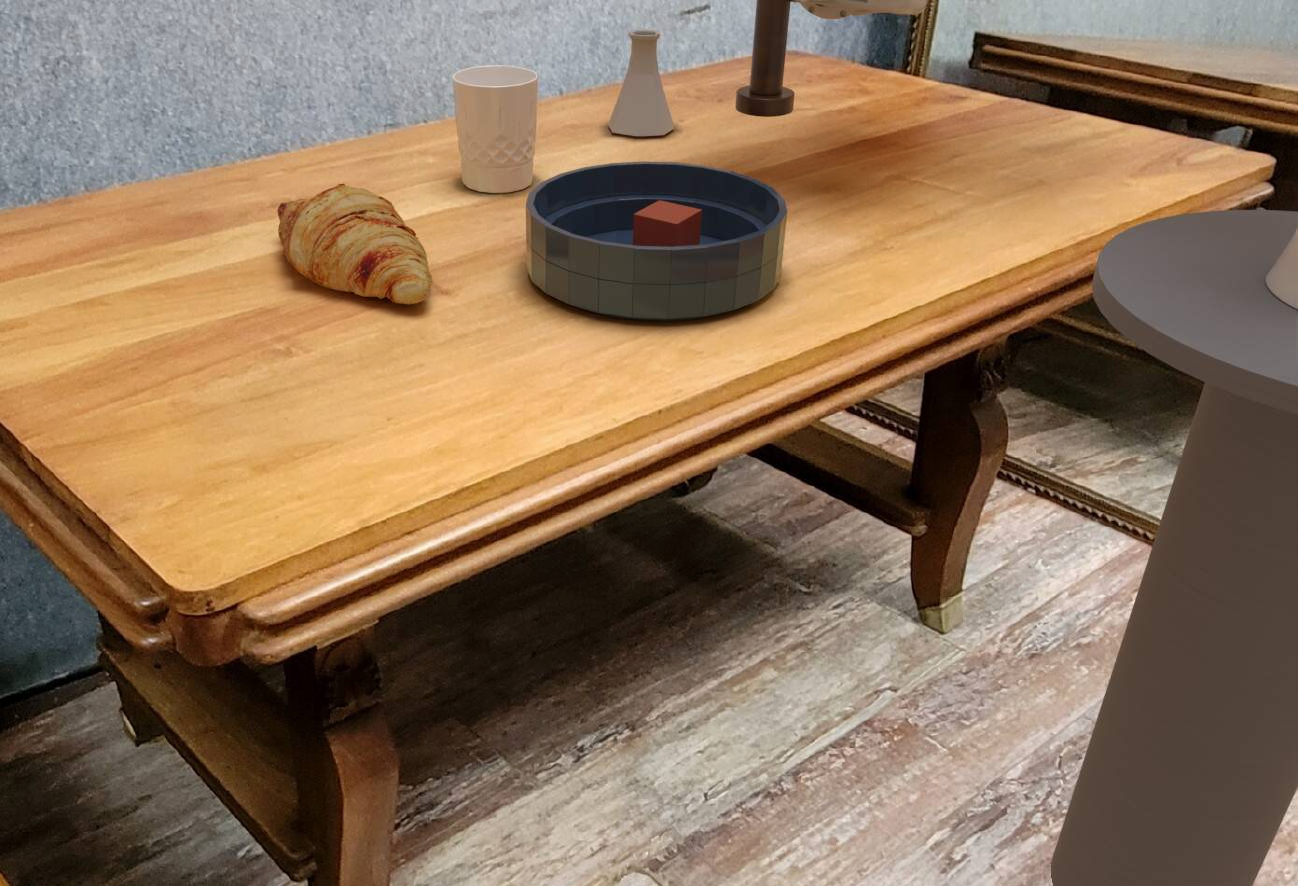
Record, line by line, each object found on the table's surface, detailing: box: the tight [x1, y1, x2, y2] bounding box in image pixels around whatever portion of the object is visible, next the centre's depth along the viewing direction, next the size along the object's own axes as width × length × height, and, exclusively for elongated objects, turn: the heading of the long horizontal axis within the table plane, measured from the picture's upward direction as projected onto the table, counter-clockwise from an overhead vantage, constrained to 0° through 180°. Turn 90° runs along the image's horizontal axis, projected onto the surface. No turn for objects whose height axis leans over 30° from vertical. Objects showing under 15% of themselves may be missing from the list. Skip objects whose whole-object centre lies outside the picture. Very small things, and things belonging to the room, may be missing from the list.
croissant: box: [277, 183, 433, 305], centre depth 99 cm, size 21×10×8 cm, turn 40°
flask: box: [607, 28, 675, 137], centre depth 131 cm, size 7×7×10 cm
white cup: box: [451, 64, 539, 194], centre depth 116 cm, size 8×8×10 cm
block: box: [633, 200, 702, 247], centre depth 100 cm, size 4×4×4 cm
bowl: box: [525, 160, 788, 322], centre depth 98 cm, size 20×20×6 cm
